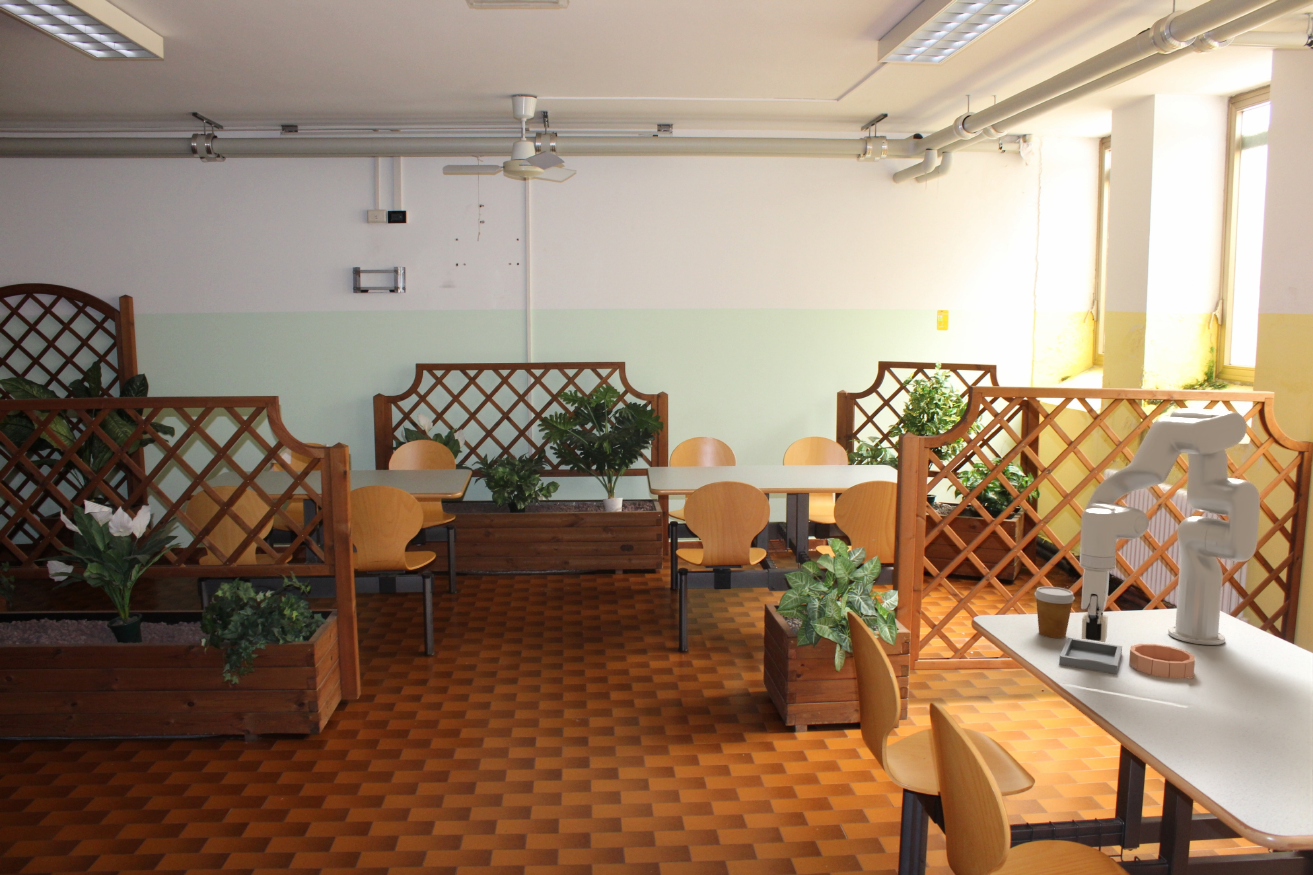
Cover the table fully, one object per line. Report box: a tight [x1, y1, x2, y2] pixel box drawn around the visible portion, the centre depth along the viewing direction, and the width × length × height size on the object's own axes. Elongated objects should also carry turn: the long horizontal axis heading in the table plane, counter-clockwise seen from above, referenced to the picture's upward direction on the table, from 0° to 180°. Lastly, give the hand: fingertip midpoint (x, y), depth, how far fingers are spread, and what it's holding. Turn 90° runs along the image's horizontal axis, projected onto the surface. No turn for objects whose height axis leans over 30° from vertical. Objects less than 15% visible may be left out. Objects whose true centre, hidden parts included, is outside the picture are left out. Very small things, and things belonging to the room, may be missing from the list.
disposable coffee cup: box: [1034, 586, 1076, 639], centre depth 230 cm, size 10×10×12 cm
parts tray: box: [1058, 637, 1123, 675], centre depth 212 cm, size 16×12×2 cm
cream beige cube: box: [1081, 612, 1109, 643], centre depth 212 cm, size 5×5×5 cm
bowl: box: [1128, 643, 1196, 680], centre depth 207 cm, size 13×13×4 cm
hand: (1094, 635), depth 212 cm, fingers closed on cream beige cube, 4 cm apart
